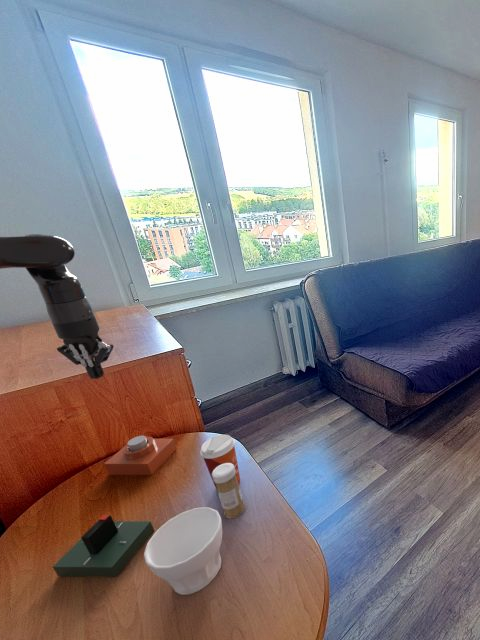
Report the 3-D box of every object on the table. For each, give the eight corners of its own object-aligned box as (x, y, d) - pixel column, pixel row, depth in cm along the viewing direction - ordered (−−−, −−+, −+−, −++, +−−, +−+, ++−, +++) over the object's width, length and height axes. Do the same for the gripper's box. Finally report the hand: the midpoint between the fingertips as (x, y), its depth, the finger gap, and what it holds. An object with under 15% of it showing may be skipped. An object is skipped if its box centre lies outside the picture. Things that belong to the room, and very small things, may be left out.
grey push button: (125, 451, 93) (123, 445, 92) (137, 441, 96) (135, 435, 96) (140, 451, 93) (137, 445, 92) (151, 441, 96) (149, 435, 96)
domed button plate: (108, 474, 92) (101, 458, 90) (138, 448, 101) (131, 432, 99) (151, 475, 92) (145, 458, 90) (177, 449, 101) (171, 433, 99)
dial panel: (58, 576, 68) (51, 566, 66) (102, 530, 77) (98, 520, 76) (116, 577, 68) (111, 566, 66) (154, 530, 77) (150, 520, 76)
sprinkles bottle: (248, 502, 84) (237, 461, 79) (239, 519, 80) (227, 477, 75) (230, 503, 84) (218, 462, 79) (220, 520, 79) (207, 477, 75)
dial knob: (97, 554, 69) (88, 536, 67) (89, 554, 69) (80, 536, 67) (118, 531, 74) (110, 514, 72) (111, 531, 74) (103, 514, 72)
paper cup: (234, 497, 85) (223, 454, 80) (205, 496, 85) (191, 454, 80) (250, 473, 93) (240, 432, 88) (223, 472, 93) (211, 432, 88)
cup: (201, 613, 62) (186, 574, 58) (143, 600, 64) (125, 562, 60) (245, 547, 73) (235, 511, 69) (195, 538, 75) (183, 502, 71)
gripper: (29, 322, 79) (58, 384, 85) (85, 322, 79) (109, 385, 85) (62, 311, 86) (86, 370, 92) (112, 311, 86) (133, 370, 92)
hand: (97, 377), depth 89 cm, fingers closed
